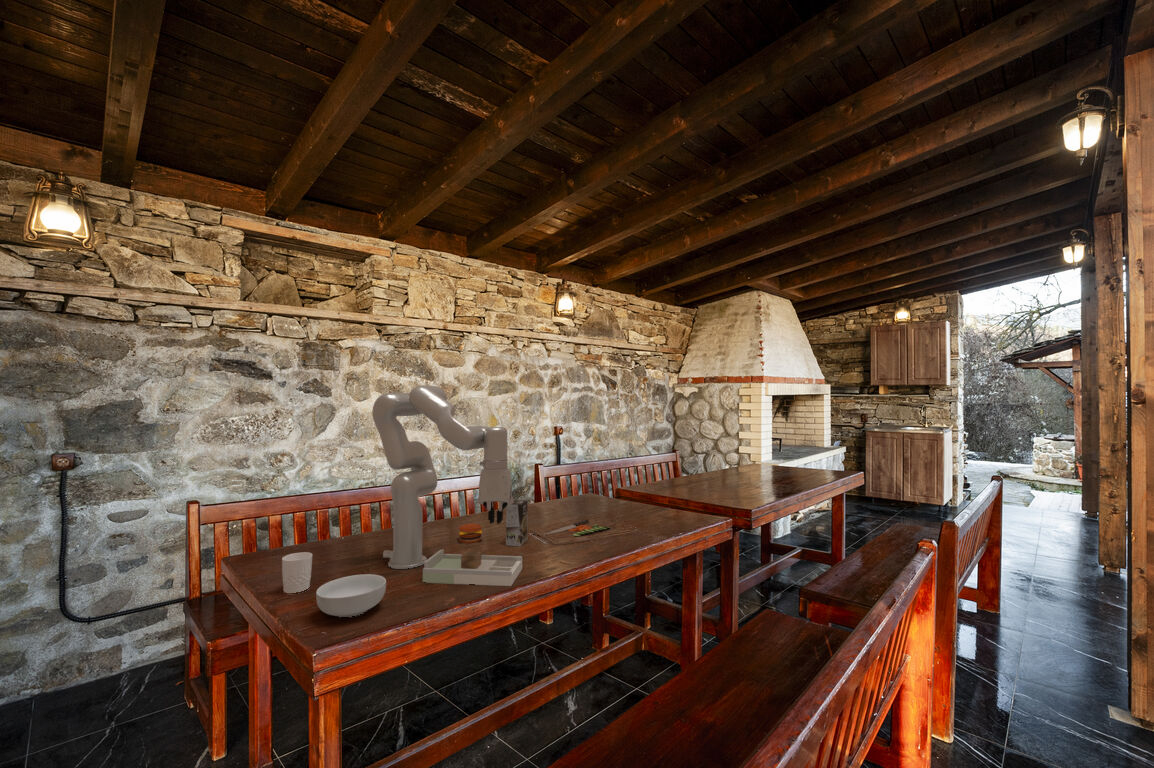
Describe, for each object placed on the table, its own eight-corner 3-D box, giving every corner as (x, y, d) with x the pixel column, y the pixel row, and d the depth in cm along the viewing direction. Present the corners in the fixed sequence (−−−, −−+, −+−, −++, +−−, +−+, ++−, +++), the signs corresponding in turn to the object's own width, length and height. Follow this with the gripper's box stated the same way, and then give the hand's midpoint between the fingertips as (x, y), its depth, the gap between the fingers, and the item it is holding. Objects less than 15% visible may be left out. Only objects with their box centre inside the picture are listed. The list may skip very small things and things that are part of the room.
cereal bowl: (372, 593, 139) (373, 569, 139) (395, 611, 127) (396, 584, 127) (307, 611, 127) (308, 584, 127) (326, 632, 115) (326, 603, 115)
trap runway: (422, 582, 147) (422, 563, 147) (441, 566, 162) (442, 548, 162) (510, 586, 144) (510, 566, 144) (522, 569, 159) (522, 550, 159)
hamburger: (459, 544, 187) (459, 527, 188) (458, 538, 196) (458, 522, 197) (483, 542, 190) (483, 525, 190) (481, 536, 199) (481, 520, 200)
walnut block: (461, 568, 151) (461, 555, 151) (466, 563, 156) (466, 550, 156) (476, 569, 150) (476, 556, 150) (481, 563, 155) (481, 551, 155)
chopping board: (550, 549, 182) (550, 541, 183) (523, 532, 206) (523, 525, 206) (645, 533, 204) (645, 526, 204) (611, 520, 227) (611, 513, 228)
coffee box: (521, 546, 184) (521, 504, 185) (505, 545, 185) (505, 504, 186) (528, 540, 193) (528, 500, 194) (513, 539, 194) (513, 499, 195)
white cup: (289, 597, 136) (290, 562, 137) (275, 592, 140) (276, 557, 141) (317, 588, 143) (317, 554, 143) (303, 583, 147) (303, 550, 147)
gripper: (468, 466, 151) (468, 525, 150) (516, 467, 149) (516, 526, 148) (475, 463, 158) (475, 519, 157) (522, 464, 156) (522, 520, 156)
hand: (495, 522), depth 153 cm, fingers closed
